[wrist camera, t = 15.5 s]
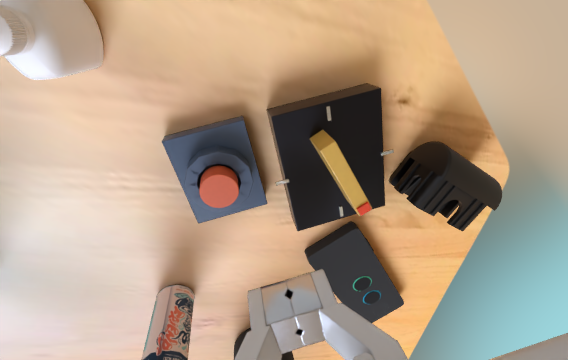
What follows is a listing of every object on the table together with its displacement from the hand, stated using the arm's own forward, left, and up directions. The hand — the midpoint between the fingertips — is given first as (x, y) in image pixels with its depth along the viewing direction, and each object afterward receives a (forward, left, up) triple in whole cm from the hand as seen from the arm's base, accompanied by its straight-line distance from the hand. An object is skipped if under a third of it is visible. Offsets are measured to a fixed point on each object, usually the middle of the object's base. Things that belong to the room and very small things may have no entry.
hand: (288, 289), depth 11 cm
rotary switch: (+6, +8, -21) cm, 23 cm away
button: (+4, -4, -18) cm, 19 cm away
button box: (+4, -4, -21) cm, 22 cm away
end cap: (+12, +21, -21) cm, 32 cm away
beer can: (+20, -15, -21) cm, 33 cm away
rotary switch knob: (+6, +8, -18) cm, 21 cm away
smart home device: (+27, +10, -21) cm, 36 cm away
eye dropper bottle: (-11, -11, -21) cm, 27 cm away
